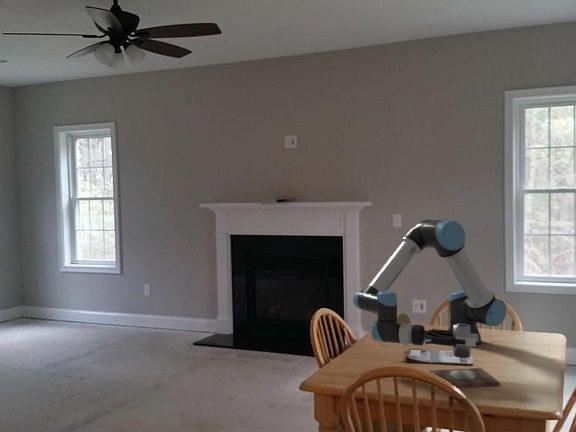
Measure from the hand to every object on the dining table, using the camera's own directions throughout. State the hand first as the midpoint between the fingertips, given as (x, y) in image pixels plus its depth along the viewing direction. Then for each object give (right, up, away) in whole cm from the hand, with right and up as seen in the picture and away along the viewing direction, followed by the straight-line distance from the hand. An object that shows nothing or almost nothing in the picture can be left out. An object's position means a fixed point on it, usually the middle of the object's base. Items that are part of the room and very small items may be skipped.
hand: (476, 340), depth 198 cm
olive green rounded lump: (-13, -13, +70) cm, 73 cm away
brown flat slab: (-4, -15, +3) cm, 16 cm away
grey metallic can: (-4, -6, +2) cm, 8 cm away
